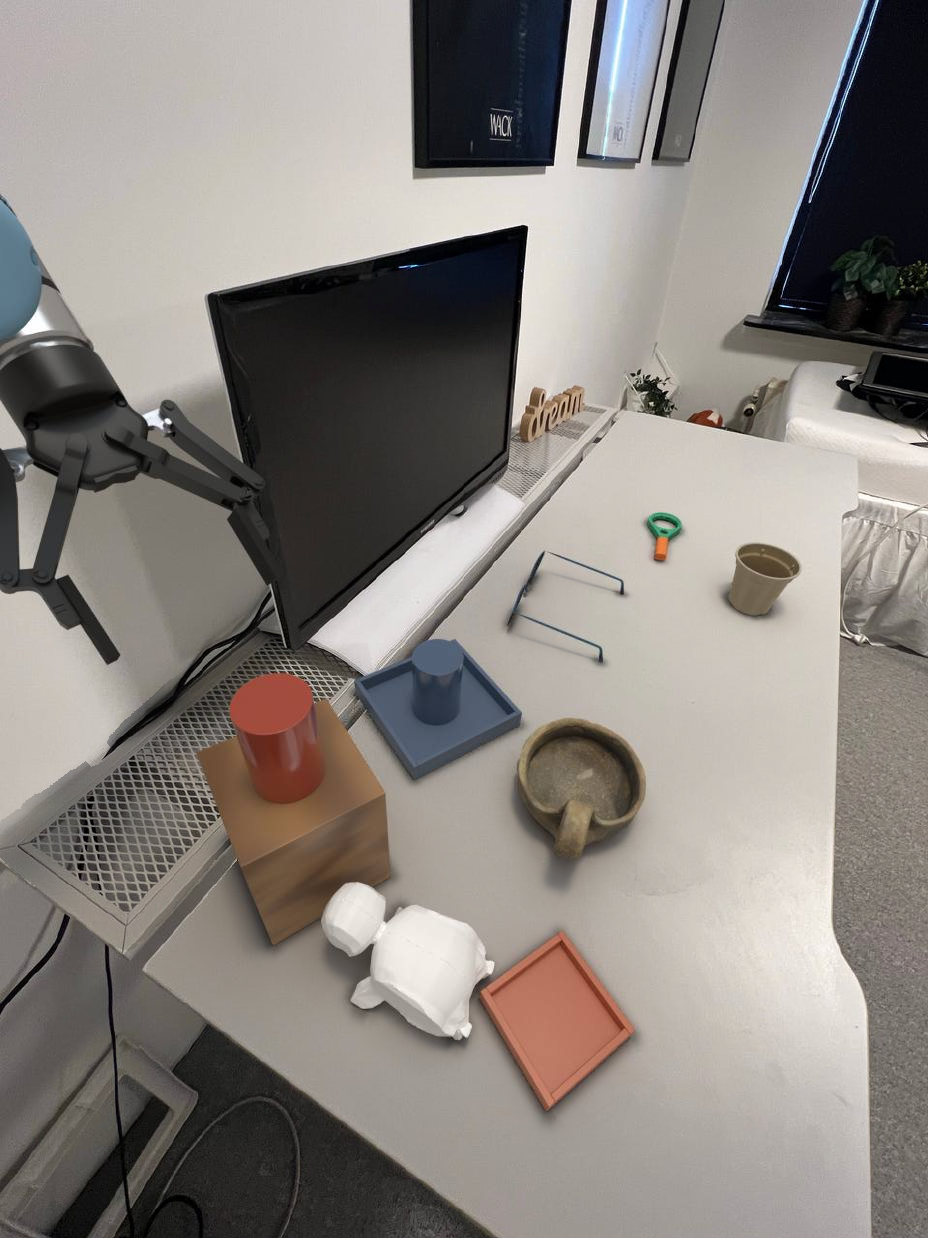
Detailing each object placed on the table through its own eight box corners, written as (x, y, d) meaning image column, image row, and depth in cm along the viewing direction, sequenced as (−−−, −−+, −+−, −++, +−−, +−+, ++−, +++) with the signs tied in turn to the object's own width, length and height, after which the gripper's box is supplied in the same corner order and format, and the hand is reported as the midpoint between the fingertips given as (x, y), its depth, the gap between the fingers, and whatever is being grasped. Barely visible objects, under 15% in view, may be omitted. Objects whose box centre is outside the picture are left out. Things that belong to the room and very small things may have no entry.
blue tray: (413, 780, 67) (413, 767, 66) (355, 693, 76) (353, 680, 75) (520, 725, 74) (522, 712, 72) (454, 651, 83) (454, 638, 82)
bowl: (641, 768, 70) (664, 713, 64) (621, 911, 58) (647, 862, 51) (528, 733, 73) (539, 678, 66) (486, 863, 60) (494, 811, 54)
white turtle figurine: (474, 960, 56) (343, 871, 56) (514, 943, 50) (367, 843, 50) (434, 1060, 50) (288, 960, 50) (474, 1054, 44) (308, 941, 44)
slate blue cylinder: (428, 732, 72) (428, 682, 66) (403, 700, 75) (402, 649, 69) (469, 713, 74) (473, 662, 68) (443, 682, 78) (446, 632, 72)
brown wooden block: (273, 946, 54) (240, 868, 44) (231, 840, 61) (195, 752, 51) (391, 876, 59) (385, 792, 49) (340, 786, 66) (326, 697, 56)
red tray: (546, 1112, 46) (549, 1107, 45) (478, 997, 51) (480, 991, 50) (630, 1035, 50) (635, 1030, 49) (559, 937, 55) (562, 930, 54)
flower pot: (722, 618, 92) (743, 574, 86) (712, 582, 99) (730, 538, 93) (785, 627, 91) (810, 582, 85) (770, 589, 98) (792, 546, 92)
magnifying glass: (648, 514, 114) (651, 507, 113) (681, 521, 113) (683, 513, 112) (641, 557, 103) (643, 549, 102) (676, 565, 102) (679, 557, 101)
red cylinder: (266, 816, 47) (244, 747, 41) (241, 762, 50) (218, 691, 45) (336, 782, 49) (325, 712, 44) (308, 732, 53) (295, 662, 47)
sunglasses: (535, 569, 99) (543, 545, 95) (619, 602, 96) (631, 579, 93) (502, 633, 86) (510, 608, 83) (597, 672, 84) (609, 649, 81)
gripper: (194, 361, 54) (314, 564, 57) (-154, 439, 40) (29, 707, 43) (211, 310, 48) (345, 541, 51) (-191, 382, 34) (25, 698, 37)
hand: (201, 617), depth 47 cm, fingers open, 13 cm apart
